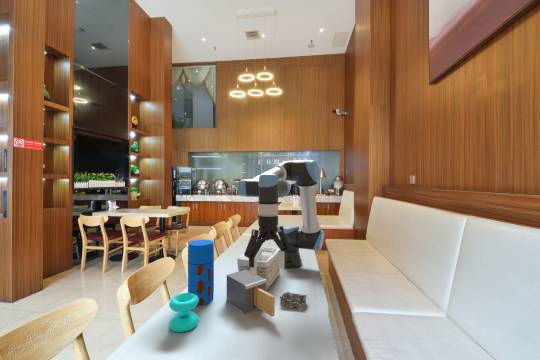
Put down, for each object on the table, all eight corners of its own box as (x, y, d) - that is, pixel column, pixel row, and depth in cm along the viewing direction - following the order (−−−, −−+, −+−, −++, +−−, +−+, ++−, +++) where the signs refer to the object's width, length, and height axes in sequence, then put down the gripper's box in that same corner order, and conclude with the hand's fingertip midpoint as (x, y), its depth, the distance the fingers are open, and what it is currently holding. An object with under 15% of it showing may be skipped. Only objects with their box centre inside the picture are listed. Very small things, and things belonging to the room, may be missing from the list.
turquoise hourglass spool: (170, 293, 94) (198, 290, 97) (170, 320, 94) (198, 316, 97) (167, 306, 85) (198, 302, 87) (167, 336, 85) (198, 331, 87)
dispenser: (226, 300, 109) (226, 274, 109) (245, 293, 115) (245, 269, 115) (246, 315, 98) (246, 286, 97) (266, 306, 104) (266, 279, 104)
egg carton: (278, 306, 105) (278, 296, 105) (284, 298, 112) (284, 289, 112) (303, 311, 101) (303, 301, 101) (307, 302, 108) (307, 293, 108)
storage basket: (267, 293, 116) (267, 261, 116) (235, 288, 122) (235, 257, 122) (281, 274, 139) (281, 247, 139) (254, 271, 144) (254, 245, 144)
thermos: (191, 294, 115) (191, 239, 115) (215, 293, 116) (215, 239, 116) (185, 306, 104) (185, 246, 104) (211, 305, 105) (211, 245, 105)
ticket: (238, 295, 110) (238, 279, 109) (241, 294, 110) (241, 278, 110) (272, 316, 93) (272, 297, 93) (274, 315, 94) (274, 296, 94)
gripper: (285, 211, 106) (285, 262, 106) (234, 216, 90) (234, 276, 90) (298, 213, 100) (298, 266, 100) (246, 219, 84) (246, 283, 84)
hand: (267, 271), depth 95 cm, fingers open, 13 cm apart
